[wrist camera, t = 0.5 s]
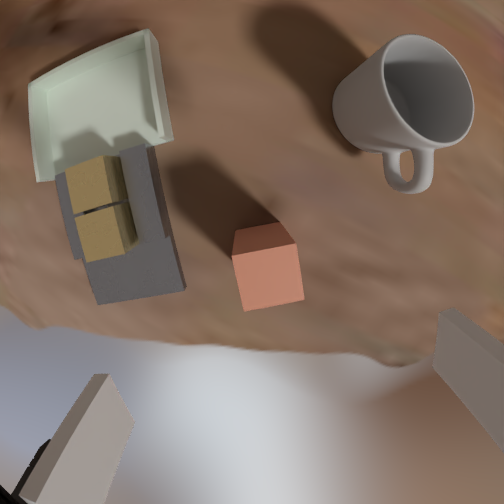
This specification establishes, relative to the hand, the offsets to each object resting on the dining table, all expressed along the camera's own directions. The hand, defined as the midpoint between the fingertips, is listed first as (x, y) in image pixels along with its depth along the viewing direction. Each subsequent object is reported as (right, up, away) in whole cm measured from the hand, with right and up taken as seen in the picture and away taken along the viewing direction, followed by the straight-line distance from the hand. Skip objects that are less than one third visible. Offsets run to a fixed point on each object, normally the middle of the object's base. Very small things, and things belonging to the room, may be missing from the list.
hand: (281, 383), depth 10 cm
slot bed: (-14, +7, +17) cm, 23 cm away
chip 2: (-14, +7, +16) cm, 22 cm away
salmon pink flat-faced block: (0, +5, +18) cm, 19 cm away
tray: (-16, +19, +14) cm, 29 cm away
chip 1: (-15, +11, +15) cm, 24 cm away
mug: (+11, +17, +16) cm, 26 cm away
